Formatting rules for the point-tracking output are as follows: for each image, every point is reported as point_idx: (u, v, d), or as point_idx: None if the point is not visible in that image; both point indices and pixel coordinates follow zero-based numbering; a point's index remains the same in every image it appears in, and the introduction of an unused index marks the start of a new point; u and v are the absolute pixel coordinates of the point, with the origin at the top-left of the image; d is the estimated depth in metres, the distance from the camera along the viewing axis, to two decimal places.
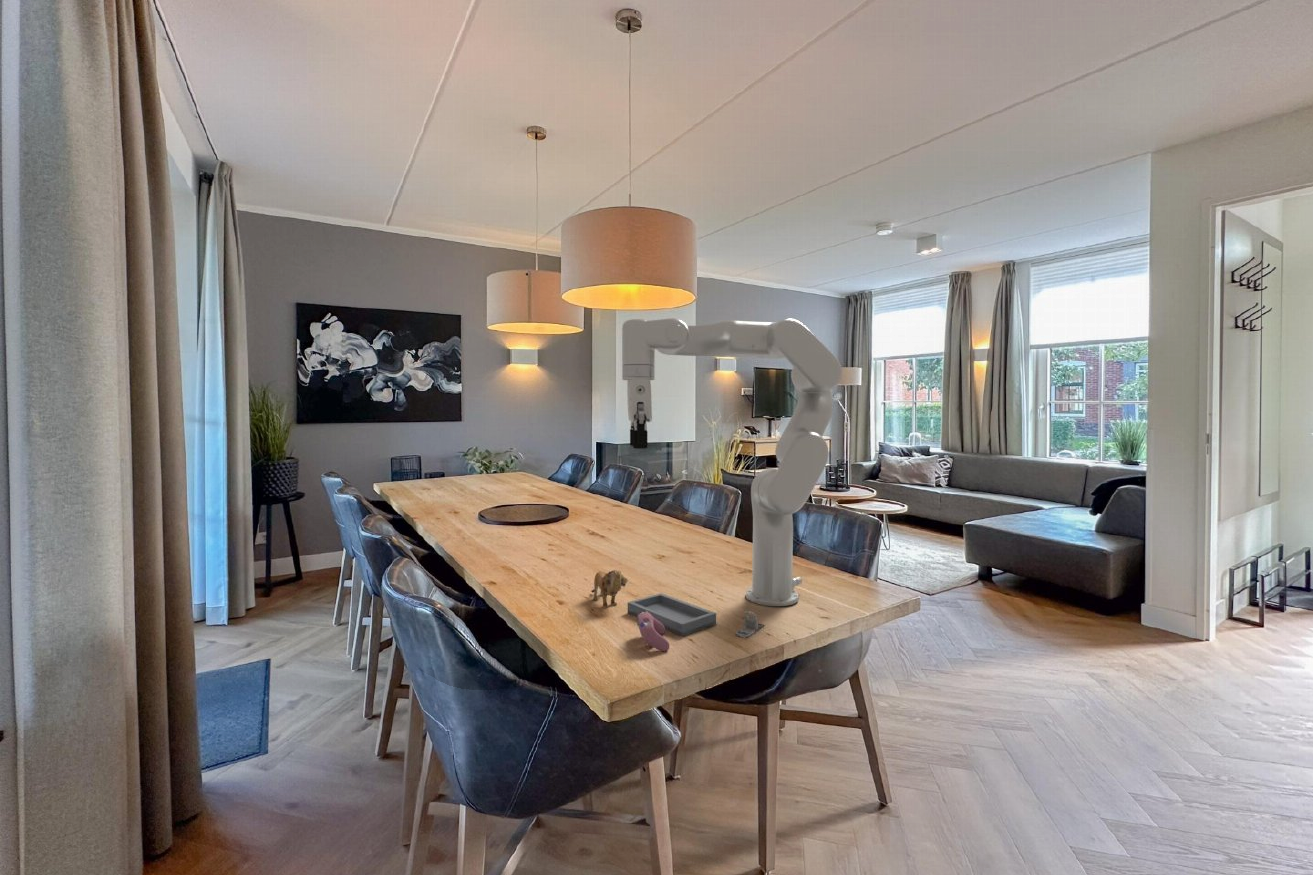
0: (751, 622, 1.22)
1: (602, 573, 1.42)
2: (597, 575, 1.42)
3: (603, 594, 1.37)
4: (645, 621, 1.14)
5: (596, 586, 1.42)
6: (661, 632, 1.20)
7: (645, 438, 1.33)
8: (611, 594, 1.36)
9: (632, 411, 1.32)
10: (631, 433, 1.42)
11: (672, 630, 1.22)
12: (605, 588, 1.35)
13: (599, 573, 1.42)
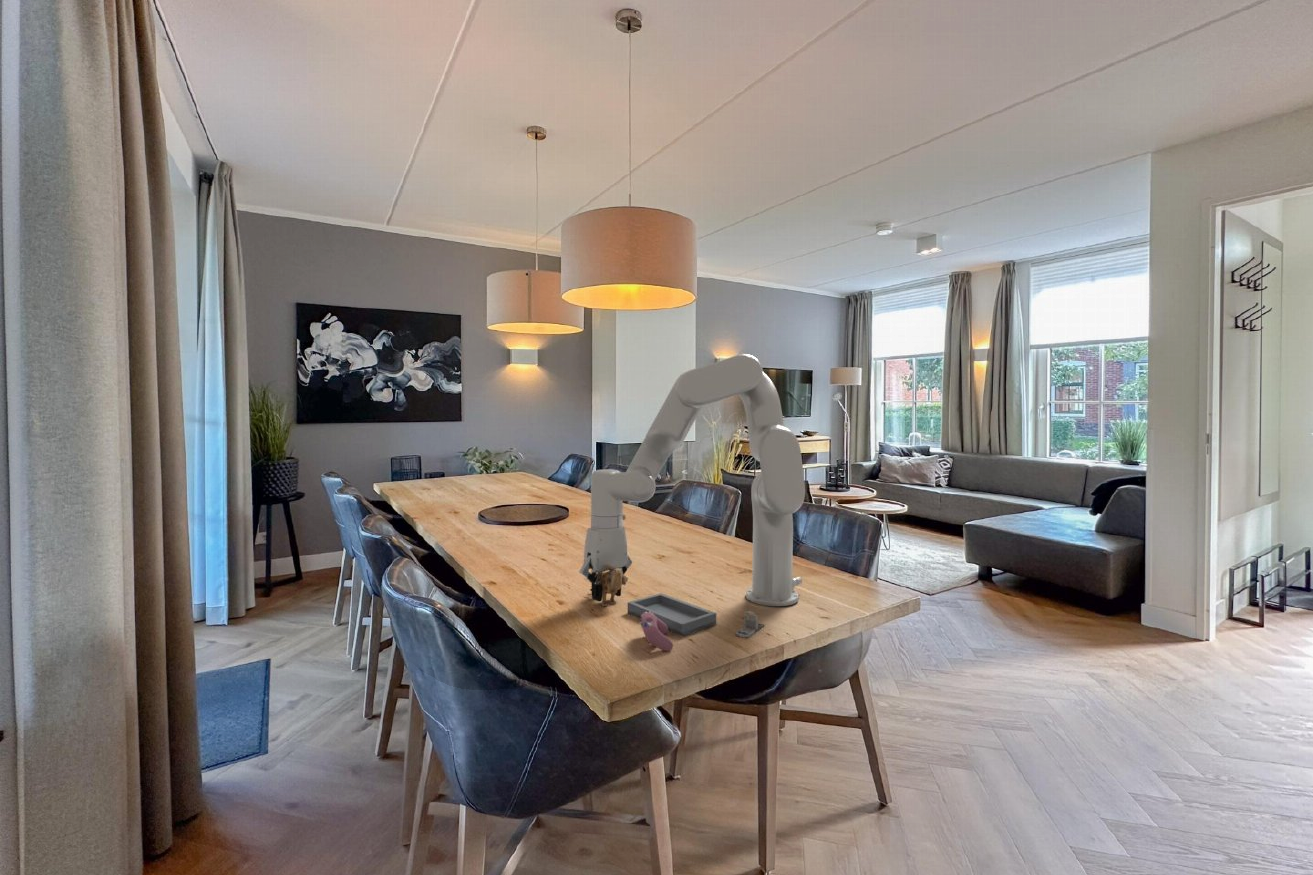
0: (751, 622, 1.22)
1: None
2: None
3: (603, 592, 1.37)
4: (648, 621, 1.14)
5: None
6: (664, 632, 1.20)
7: None
8: (611, 592, 1.36)
9: (627, 556, 1.42)
10: None
11: (672, 630, 1.22)
12: (605, 585, 1.36)
13: None
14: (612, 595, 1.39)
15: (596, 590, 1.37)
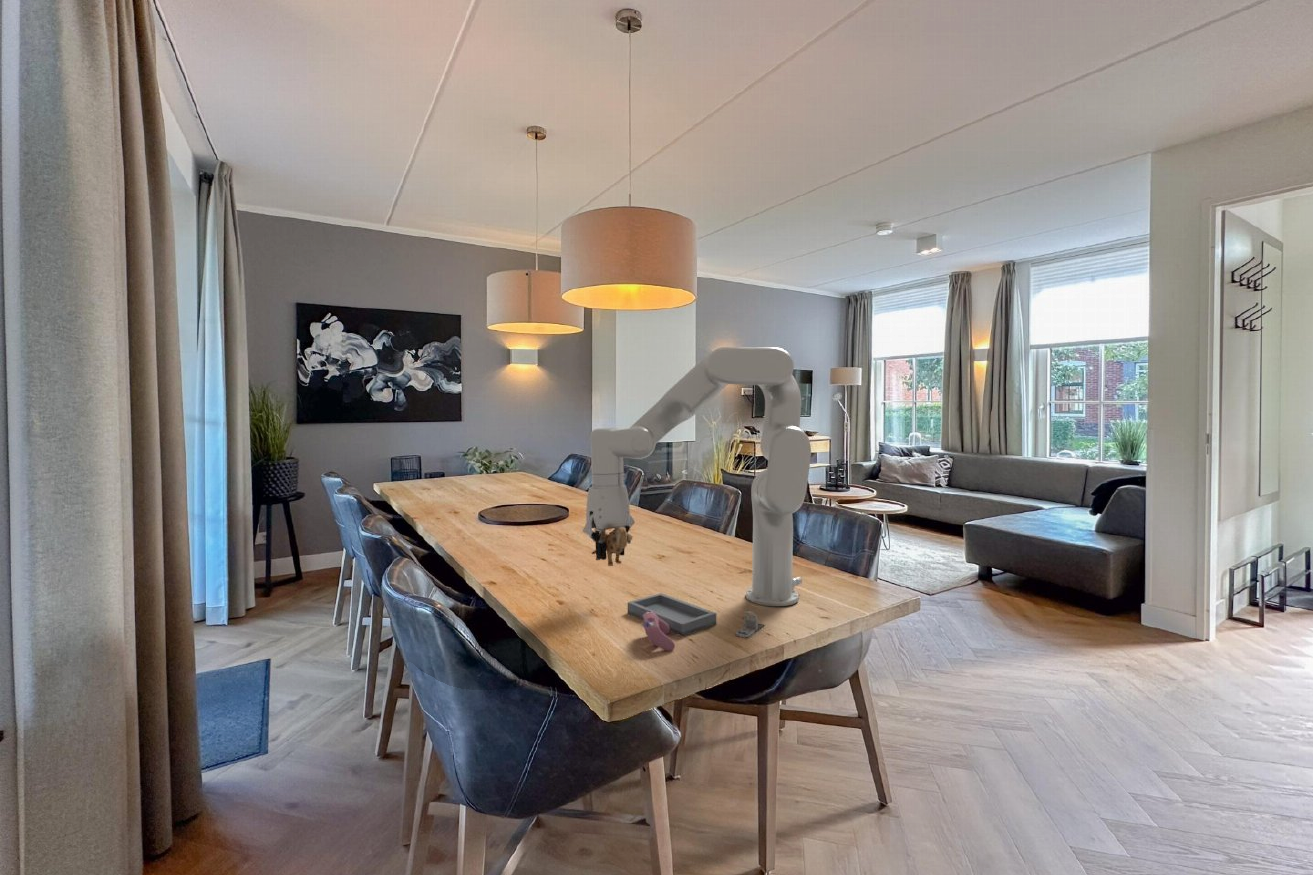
0: (751, 622, 1.22)
1: None
2: None
3: (608, 552, 1.37)
4: (650, 621, 1.14)
5: None
6: (666, 632, 1.20)
7: None
8: (617, 551, 1.36)
9: (629, 515, 1.41)
10: None
11: (672, 630, 1.22)
12: (611, 545, 1.36)
13: None
14: (617, 555, 1.39)
15: (600, 549, 1.37)
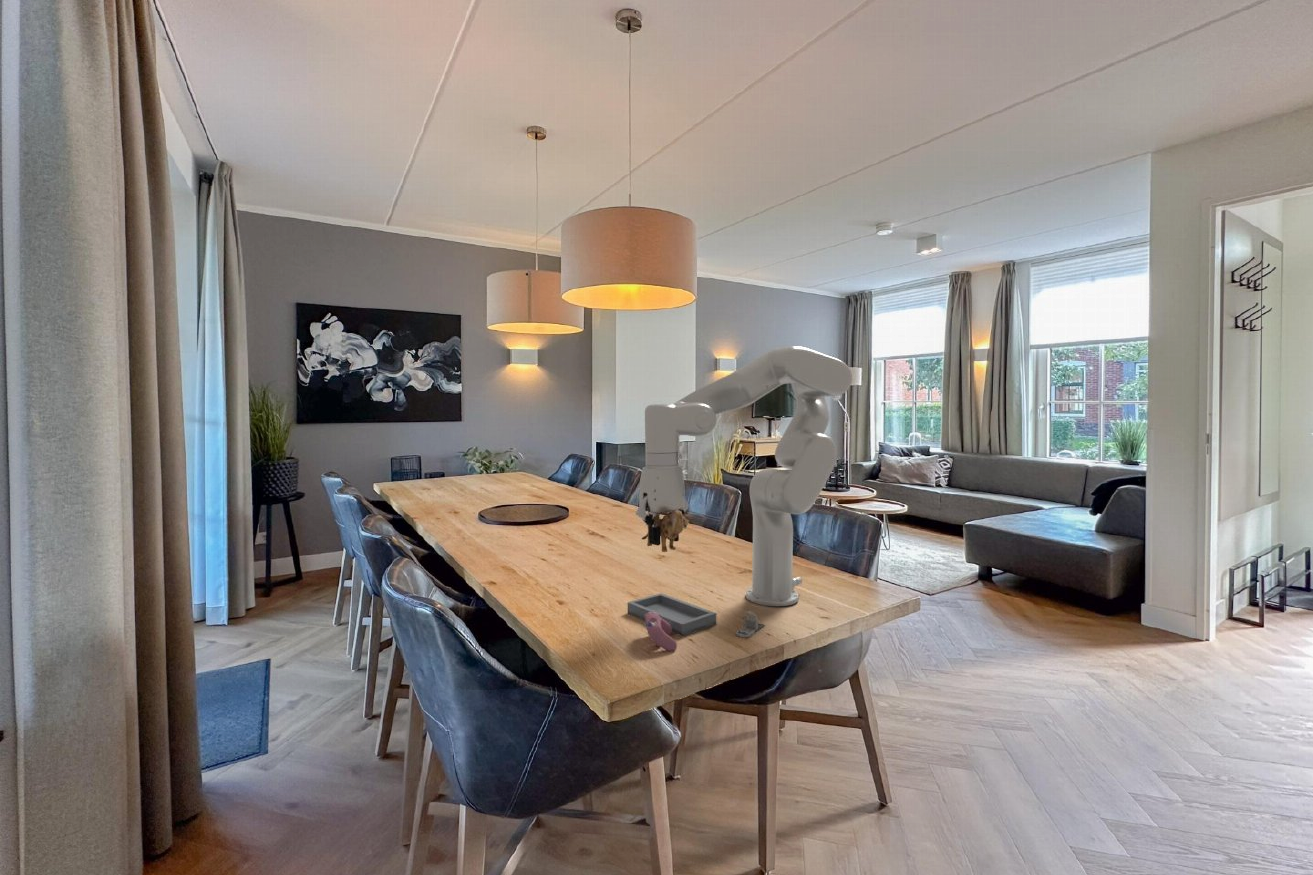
0: (751, 622, 1.22)
1: None
2: None
3: (663, 537, 1.27)
4: (652, 621, 1.14)
5: None
6: (668, 632, 1.20)
7: None
8: (672, 536, 1.26)
9: (684, 498, 1.31)
10: None
11: (672, 630, 1.22)
12: (666, 530, 1.26)
13: None
14: (671, 540, 1.29)
15: (654, 533, 1.27)
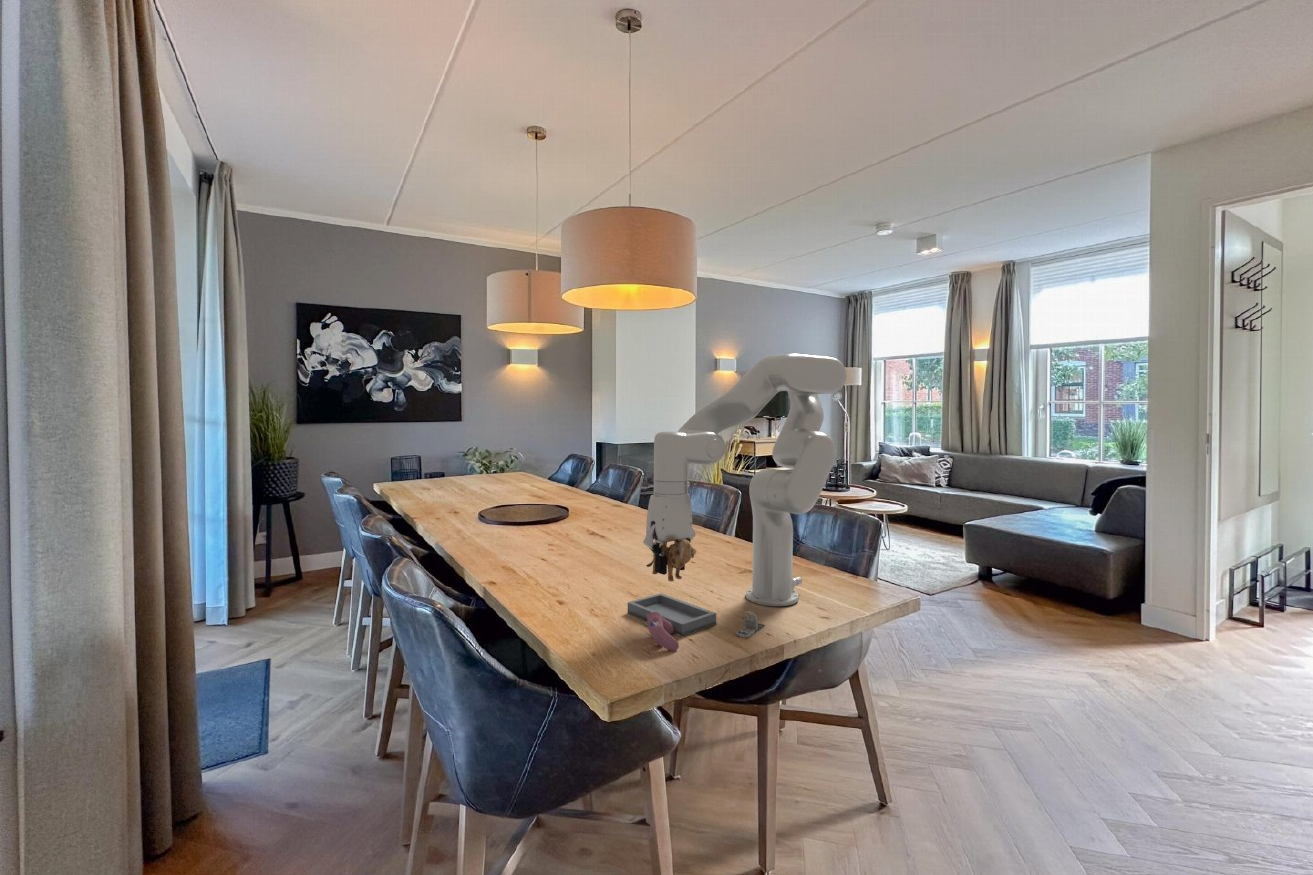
0: (751, 622, 1.22)
1: None
2: None
3: (669, 566, 1.26)
4: (654, 621, 1.14)
5: None
6: (670, 632, 1.21)
7: None
8: (679, 566, 1.25)
9: (691, 526, 1.30)
10: None
11: None
12: (673, 559, 1.25)
13: (660, 545, 1.31)
14: (678, 569, 1.28)
15: (661, 562, 1.26)
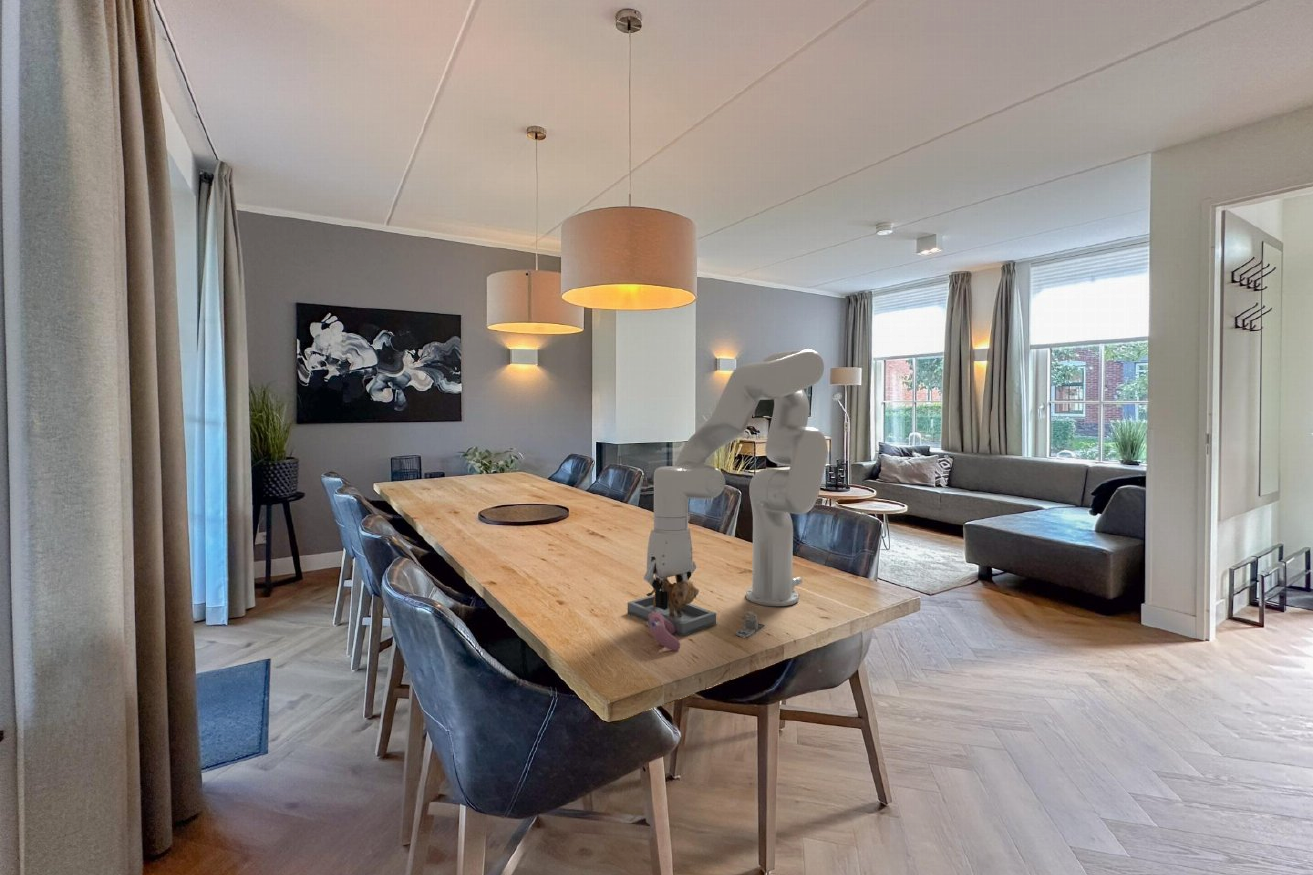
0: (751, 622, 1.22)
1: None
2: (660, 581, 1.31)
3: (671, 605, 1.26)
4: (656, 620, 1.14)
5: None
6: (671, 632, 1.21)
7: None
8: (681, 606, 1.26)
9: (692, 560, 1.31)
10: None
11: None
12: (676, 600, 1.25)
13: None
14: (679, 606, 1.28)
15: (661, 598, 1.26)
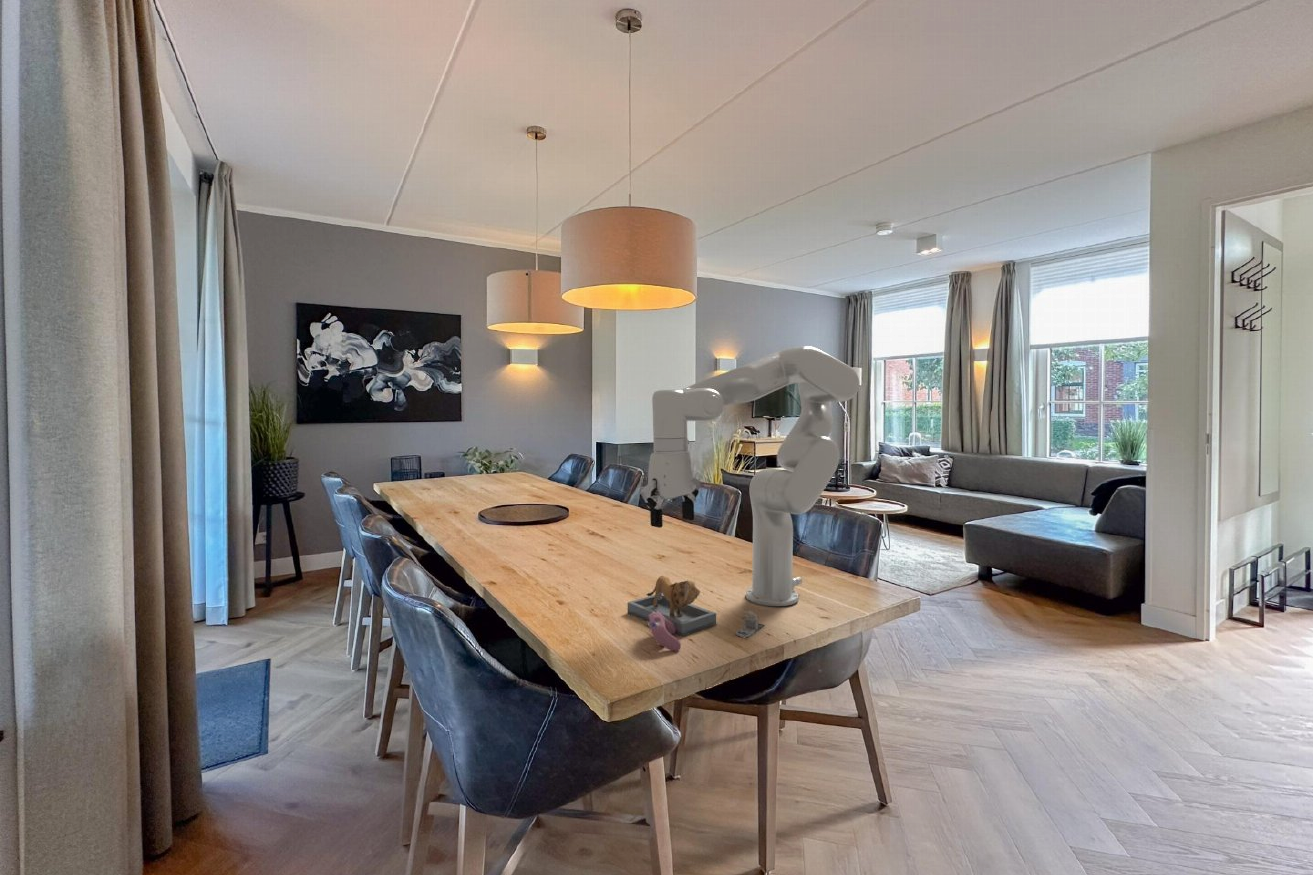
0: (751, 622, 1.22)
1: (666, 579, 1.31)
2: (661, 581, 1.31)
3: (672, 605, 1.26)
4: (656, 621, 1.14)
5: (658, 592, 1.32)
6: (672, 632, 1.20)
7: None
8: (682, 606, 1.26)
9: (692, 483, 1.32)
10: None
11: None
12: (677, 599, 1.25)
13: (663, 579, 1.31)
14: (679, 607, 1.29)
15: (656, 515, 1.26)
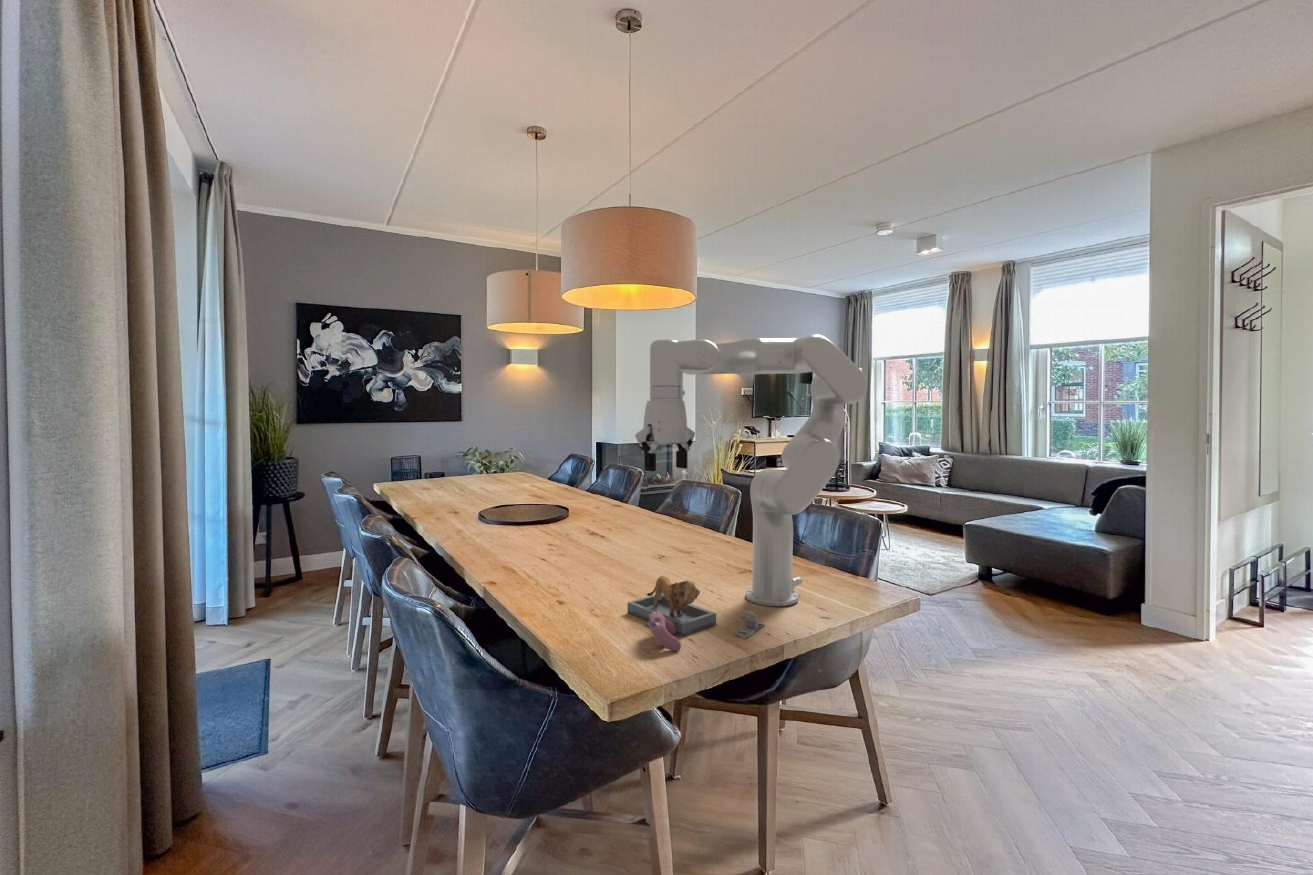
0: (751, 622, 1.22)
1: (666, 579, 1.31)
2: (661, 581, 1.31)
3: (672, 605, 1.26)
4: (657, 621, 1.14)
5: (658, 592, 1.32)
6: (672, 632, 1.20)
7: None
8: (682, 606, 1.26)
9: (686, 432, 1.36)
10: None
11: None
12: (677, 599, 1.25)
13: (663, 579, 1.31)
14: (679, 607, 1.29)
15: (650, 460, 1.31)
